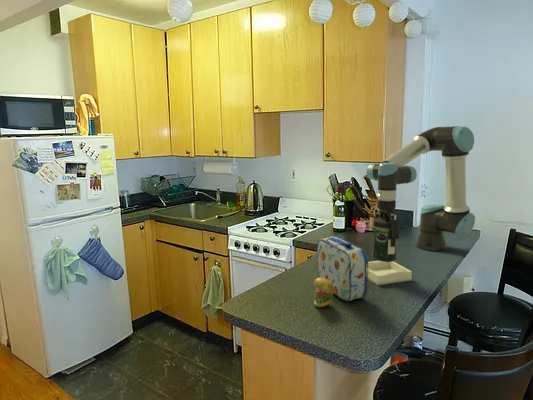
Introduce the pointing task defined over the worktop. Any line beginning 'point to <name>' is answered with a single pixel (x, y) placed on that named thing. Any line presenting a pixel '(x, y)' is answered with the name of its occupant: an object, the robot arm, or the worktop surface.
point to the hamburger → (323, 292)
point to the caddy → (387, 272)
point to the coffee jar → (382, 241)
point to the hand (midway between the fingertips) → (384, 250)
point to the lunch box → (343, 267)
